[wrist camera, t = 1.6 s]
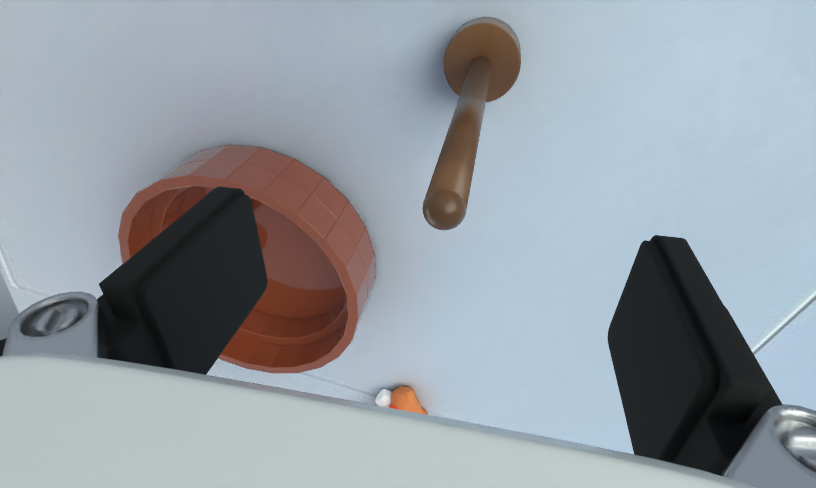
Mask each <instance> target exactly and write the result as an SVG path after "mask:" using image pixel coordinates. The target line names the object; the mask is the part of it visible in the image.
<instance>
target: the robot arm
mask: <svg viewBox="0 0 816 488" xmlns="http://www.w3.org/2000/svg"><path fill="white" fill-rule="evenodd" d="M267 282H268V279H267V273H266V269H265V264H264V259H263V254H262V249H261V245H260V240H259V235H258V230H257V225H256V221H255V216H254V211H253V206H252V201H251V198H250V197H249V196H248V195H245V193H244V191H243V190H242V189H239V188H230V187H221V186H218V187H216V188H214V189H213V190H212V191H211V192H210V193H208V194H207V195H206V196H205V197H203V198H202V199H201V200H200V201H199V202H197V203H196V204H195V205H194V206H193V207H191V208H190V209H189V210H188V211H187V212H185V213H184V214H183V215H182V216H180V217H179V218H178V219H177V220H176V221H174V222H173V223H172V224H171V225H170V226H168V227H167V228H166V229H165V230H164V231H162V232H161V233H160V234H159V235H157V236H156V237H155V238H154V239H153V240H151V241H150V242H149V243H148V244H147V245H145V246H144V247H143V248H142V249H141V250H139V251H138V252H137V253H136V254H134V255H133V256H132V257H131V258H130V259H128V260H127V261H126V262H125V263H124V264H122V265H121V266H120V267H119V268H118V269H116V270H115V271H114V272H113V273H112V274H110V275H109V276H108V277H107V278H105V279H104V280H103V281H102V282H101V283H99V286H100V288H101V290H102V292H103V295H102V296H101V297H99V298H98V299H96V298H95V297H94V296H93V295H91V294H89V293H85V292H67V293H62V294H57V295H54V296H51V297H48V298H45V299H43V300H41V301H39V302H37V303H35V304H33V305H31V306H30V307H28V308H27V309H25V310H24V311H22V312H21V313H20V314H19V315H18V316H17V317H16V318H15V319H14V320H13V322H12V324H11V326H10V328H9V331H8V335H7V338H6V339H3V340H0V488H816V411H814V410H811V409H807V408H804V407H801V406H795V405H785V404H784V405H782V403H781V401H780V399H779V398H778V396H777V394H776V393H775V391H774V389H773V387H772V386H771V384H770V382H769V381H768V379H767V377H766V375H765V374H764V372H763V370H762V368H761V367H760V365H759V363H758V362H757V360H756V358H755V356H754V355H753V353H752V351H751V349H750V348H749V346H748V344H747V343H746V341H745V339H744V337H743V336H742V334H741V332H740V330H739V329H738V327H737V325H736V324H735V322H734V320H733V318H732V317H731V315H730V313H729V312H728V310H727V309H726V307H725V306H724V305H723V303H722V302H721V300H720V298H719V296H718V295H717V293H716V291H715V290H714V288H713V286H712V284H711V283H710V281H709V279H708V277H707V276H706V274H705V272H704V270H703V269H702V267H701V265H700V263H699V262H698V260H697V258H696V257H695V255H694V253H693V251H692V250H691V248H690V246H689V244H688V243H687V241H686V240H685V239H683V238H676V237H667V236H658V235H655V236H653V237H652V239H651V240H650V241H643V242H642V243H641V245H640V248H639V250H638V253H637V256H636V258H635V261H634V264H633V266H632V269H631V271H630V274H629V277H628V279H627V282H626V285H625V287H624V290H623V293H622V295H621V298H620V300H619V303H618V306H617V308H616V311H615V314H614V316H613V319H612V322H611V324H610V327H609V331H608V344H609V349H610V353H611V357H612V361H613V366H614V370H615V374H616V378H617V383H618V387H619V391H620V395H621V400H622V404H623V408H624V412H625V417H626V421H627V425H628V429H629V434H630V438H631V442H632V446H633V451H634V455H633V454H628V453H623V452H619V451H614V450H609V449H604V448H599V447H594V446H589V445H584V444H579V443H574V442H569V441H565V440H559V439H554V438H549V437H543V436H538V435H533V434H527V433H522V432H517V431H511V430H506V429H501V428H495V427H490V426H485V425H479V424H474V423H469V422H463V421H458V420H453V419H448V418H442V417H437V416H432V415H426V414H421V413H415V412H410V411H404V410H399V409H393V408H388V407H382V406H377V405H371V404H366V403H361V402H355V401H350V400H344V399H339V398H333V397H327V396H322V395H316V394H311V393H305V392H300V391H294V390H289V389H283V388H278V387H272V386H266V385H261V384H255V383H249V382H244V381H238V380H232V379H227V378H221V377H215V376H210V375H206V374H207V373H208V371H209V370H210V368H211V367H212V366H213V364H214V363H215V361H216V360H217V359H218V357H219V356H220V354H221V353H222V351H223V350H224V349H225V347H226V346H227V344H228V343H229V342H230V340H231V339H232V337H233V336H234V335H235V333H236V332H237V330H238V329H239V328H240V326H241V325H242V323H243V322H244V320H245V319H246V318H247V316H248V315H249V313H250V312H251V311H252V309H253V308H254V306H255V305H256V304H257V302H258V301H259V299H260V298H261V297H262V295H263V294H264V292H265V290H266V288H267Z"/></svg>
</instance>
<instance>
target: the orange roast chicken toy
mask: <svg viewBox="0 0 816 488" xmlns="http://www.w3.org/2000/svg"><path fill="white" fill-rule="evenodd" d="M375 402H376V404H377V405H378V406H382V407H388V408H393V409H399V410H404V411H410V412H415V413H421V414H426V415H428V413H427V412H426V411H425V410H424V409H423V408H422V407H421V406H420V403H419V401H418V399H417V397H416V395H415V392H414V390H413V389H411V388H410V387H404V386H400V387H398V388H397V389H395V390H394V391H393V392H391V391H389V390H386V389H382V390H381V391H380V392H379V394H378V395H377V397H376V399H375Z"/></svg>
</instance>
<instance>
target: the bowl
mask: <svg viewBox="0 0 816 488" xmlns="http://www.w3.org/2000/svg"><path fill="white" fill-rule="evenodd" d="M218 186H221V187H230V188H239V189H242V190H243V191H244V193H245V195H248V196H249V197H250V198H251V201H252V206H253V211H254V216H255V221H256V225H257V230H258V235H259V240H260V245H261V249H262V254H263V259H264V264H265V269H266V273H267V279H268V282H267V288H266V290H265V292H264V294H263V295H262V297H261V298H260V299H259V301H258V302H257V304H256V305H255V306H254V308H253V309H252V311H251V312H250V313H249V315H248V316H247V318H246V319H245V320H244V322H243V323H242V325H241V326H240V328H239V329H238V330H237V332H236V333H235V335H234V336H233V337H232V339H231V340H230V342H229V343H228V344H227V346H226V347H225V349H224V350H223V351H222V353H221V354H220V356H219V357H218V358H219V359H221V360H223V361H226V362H229V363H232V364H235V365H238V366H241V367H244V368H247V369H252V370H257V371H263V372H269V373H300V372H304V371H308V370H312V369H317V368H320V367H322V366H324V365H326V364H327V363H329V362H331V361H332V360H334V359H336V358H338V357H339V356H340V355H341V354H342V352H343V351H344V350H345V349H346V348H347V346H348V345H349V344H350V343H351V341H352V340H353V337H354V335H355V332H356V330H357V327H358V325H359V322H360V320H361V317H362V315H363V312H364V310H365V307H366V305H367V302H368V300H369V297H370V294H371V291H372V288H373V285H374V282H375V278H376V265H375V252H374V249H373V246H372V243H371V240H370V237H369V234H368V231H367V229H366V226H365V225H364V223H363V222H362V220H361V219H360V217H359V216H358V214H357V213H356V211H355V210H354V208H353V207H352V205H351V203H350V202H349V201H348V200H347V199H346V198H345V197H344V196H343V195H342V194H341V193H340V192H339V191H338V190H337V189H336V188H335V187H334V186H333V185H332V184H331V183H330V182H329V181H328V180H327V179H326V178H324V177H323V176H321V175H320V174H318V173H317V172H315V171H313V170H312V169H310V168H308V167H307V166H305V165H304V164H302V163H300V162H299V161H297V160H295V159H293V158H290V157H287V156H285V155H282V154H279V153H276V152H273V151H270V150H267V149H265V148H261V147H251V146H241V145H225V146H220V147H214V148H209V149H204V150H201V151H200V152H198V153H196V154H195V155H193V156H191V157H190V158H188V159H186V160H185V161H183V162H181V163H180V164H178V165H177V166H175V167H174V168H173V169H171V170H170V171H168V172H167V173H165V174H164V175H162V176H161V177H159V178H158V179H157V180H155V181H154V182H152V183H151V184H149V185H148V186H146V187H145V188H143V189H142V190H141V191H139V192H138V193H136V194H135V196H134V197H133V199H132V200H131V202H130V203H129V204H128V206H127V207H126V209H125V210H124V211H123V213H122V218H121V223H120V228H119V233H118V239H119V245H120V251H121V258H122V262H123V264H124V263H125V262H126V261H127V260H128V259H130V258H131V257H132V256H133V255H134V254H136V253H137V252H138V251H139V250H141V249H142V248H143V247H144V246H145V245H147V244H148V243H149V242H150V241H151V240H153V239H154V238H155V237H156V236H157V235H159V234H160V233H161V232H162V231H164V230H165V229H166V228H167V227H168V226H170V225H171V224H172V223H173V222H174V221H176V220H177V219H178V218H179V217H180V216H182V215H183V214H184V213H185V212H187V211H188V210H189V209H190V208H191V207H193V206H194V205H195V204H196V203H197V202H199V201H200V200H201V199H202V198H203V197H205V196H206V195H207V194H208V193H210V192H211V191H212V190H213V189H214V188H216V187H218Z"/></svg>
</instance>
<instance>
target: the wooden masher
mask: <svg viewBox="0 0 816 488" xmlns="http://www.w3.org/2000/svg"><path fill="white" fill-rule="evenodd" d="M520 65H521V55H520V44H519V41H518V38H517V36H516V34H515V32H514V31H513V30H512V29H511V27H510V26H509V25H507V24H506V23H505V22H503V21H501V20H499V19H496V18H492V17H480V18H476V19H473V20H471V21H469V22H467V23H466V24H464V25H463V26H462V27H461V28H460V29H459V30H458V31H457V32H456V34H455V35H454V37H453V38H452V40H451V42H450V43H449V45H448V47H447V50H446V53H445V57H444V73H445V77H446V79H447V82H448V84H449V85H450V87H451V88H452V90H453V91H454V92H455V93H456V94H457V95H459V96H460V97H459V100H458V103H457V106H456V109H455V112H454V115H453V118H452V121H451V123H450V126H449V129H448V132H447V135H446V138H445V141H444V144H443V147H442V150H441V153H440V156H439V159H438V162H437V165H436V167H435V170H434V173H433V176H432V179H431V182H430V185H429V188H428V191H427V194H426V197H425V200H424V203H423V214H424V217H425V219H426V221H427V222H428V223H429V224H430V225H431V226H432V227H434V228H436V229H439V230H450V229H453V228H455V227H457V226H458V225H459V224H460V223H461V222H462V220H463V219H464V217H465V214H466V208H467V203H468V197H469V192H470V186H471V180H472V175H473V169H474V164H475V158H476V152H477V147H478V141H479V136H480V130H481V124H482V119H483V113H484V107H485V102H490V101H493V100H496V99H498V98H500V97H501V96H503V95H504V94H505V93H506V92H508V91H509V90H510V88H511V87H512V86H513V84H514V83H515V81H516V79H517V77H518V74H519V71H520Z"/></svg>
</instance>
